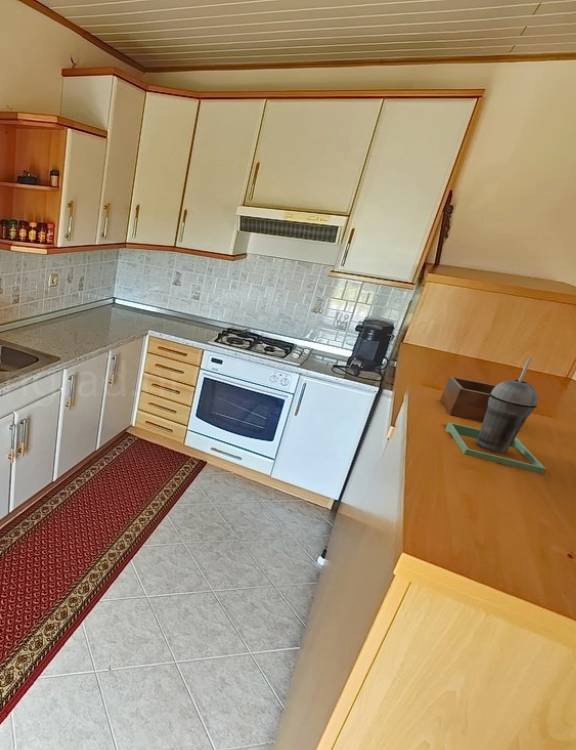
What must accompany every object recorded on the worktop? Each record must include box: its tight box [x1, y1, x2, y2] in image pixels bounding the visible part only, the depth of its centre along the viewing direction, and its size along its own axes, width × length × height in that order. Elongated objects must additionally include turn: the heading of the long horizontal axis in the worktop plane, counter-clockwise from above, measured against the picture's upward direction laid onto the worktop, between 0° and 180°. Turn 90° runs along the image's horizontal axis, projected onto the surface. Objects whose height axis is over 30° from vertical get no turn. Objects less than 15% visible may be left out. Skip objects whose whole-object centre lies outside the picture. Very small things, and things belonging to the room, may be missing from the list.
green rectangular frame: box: [444, 421, 547, 475], centre depth 100 cm, size 12×16×2 cm
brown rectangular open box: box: [439, 375, 498, 423], centre depth 123 cm, size 13×13×7 cm
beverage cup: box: [476, 357, 539, 455], centre depth 96 cm, size 7×7×20 cm
